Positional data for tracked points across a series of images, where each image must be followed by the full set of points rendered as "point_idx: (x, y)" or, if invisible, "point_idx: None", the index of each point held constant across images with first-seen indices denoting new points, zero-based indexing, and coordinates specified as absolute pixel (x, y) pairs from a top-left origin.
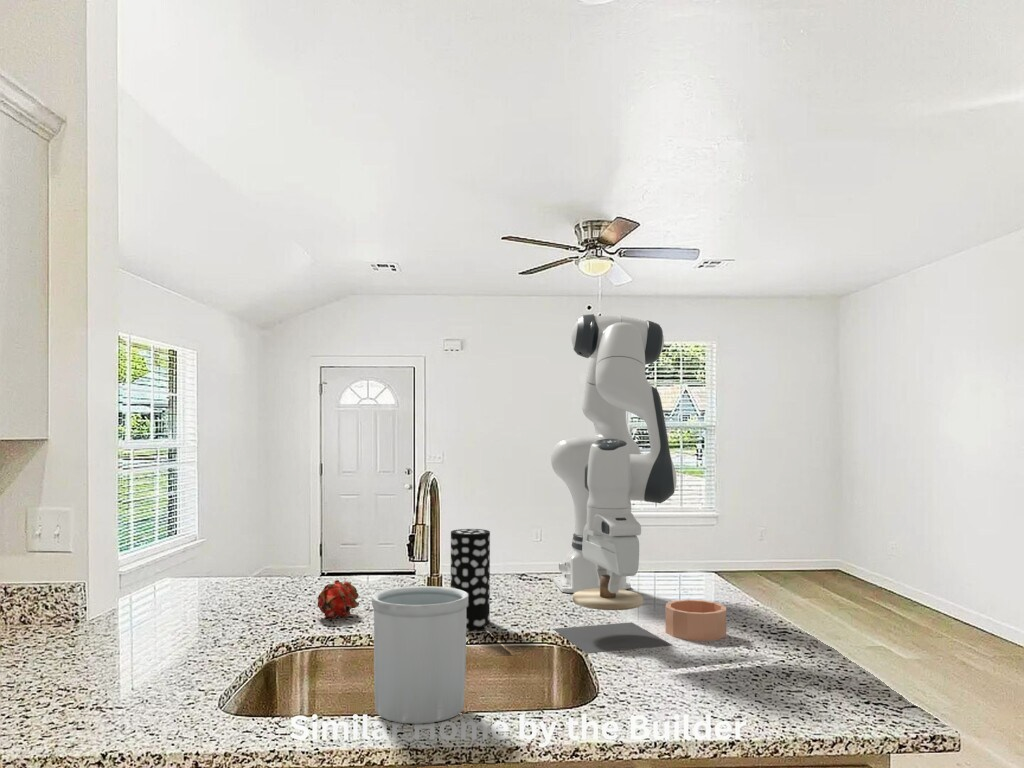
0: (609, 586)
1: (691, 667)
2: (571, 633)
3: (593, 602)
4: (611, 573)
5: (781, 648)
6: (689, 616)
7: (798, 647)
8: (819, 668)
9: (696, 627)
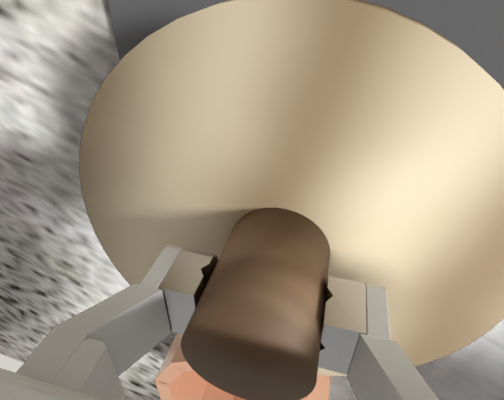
0: (159, 271)
1: (22, 195)
2: (427, 2)
3: (143, 88)
4: (37, 355)
5: (143, 375)
6: (172, 356)
7: (146, 391)
8: (39, 344)
9: (178, 337)
